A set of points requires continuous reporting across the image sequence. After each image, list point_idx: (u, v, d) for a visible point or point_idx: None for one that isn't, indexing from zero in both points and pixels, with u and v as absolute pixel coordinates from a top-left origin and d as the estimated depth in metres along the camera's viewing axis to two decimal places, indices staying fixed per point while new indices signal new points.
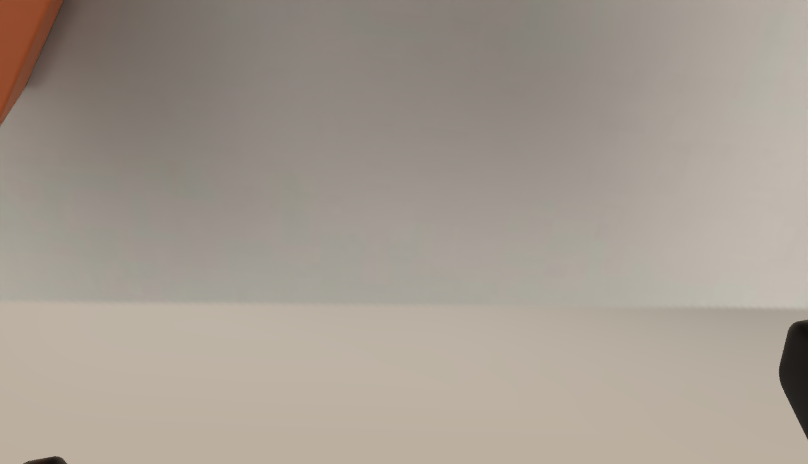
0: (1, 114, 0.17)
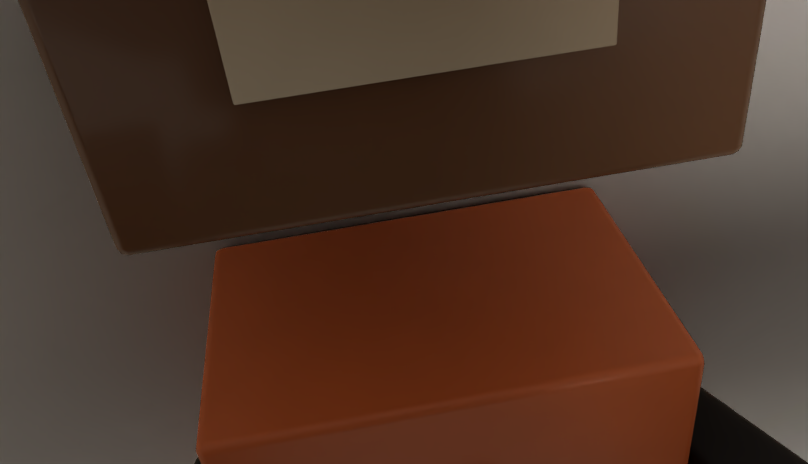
0: None
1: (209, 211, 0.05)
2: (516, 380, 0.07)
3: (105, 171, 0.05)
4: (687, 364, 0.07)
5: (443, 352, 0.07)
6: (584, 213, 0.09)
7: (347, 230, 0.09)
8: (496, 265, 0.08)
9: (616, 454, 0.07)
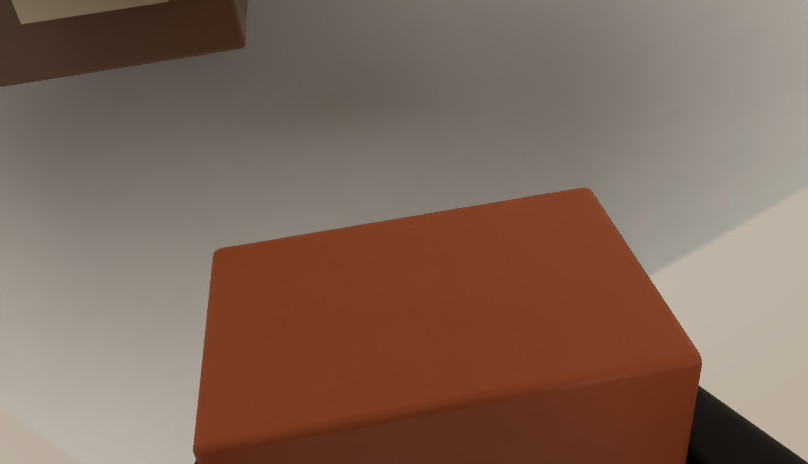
0: None
1: (19, 69, 0.13)
2: (513, 380, 0.07)
3: None
4: (684, 364, 0.07)
5: (439, 352, 0.07)
6: (582, 213, 0.09)
7: (345, 230, 0.09)
8: (495, 265, 0.08)
9: (614, 454, 0.07)
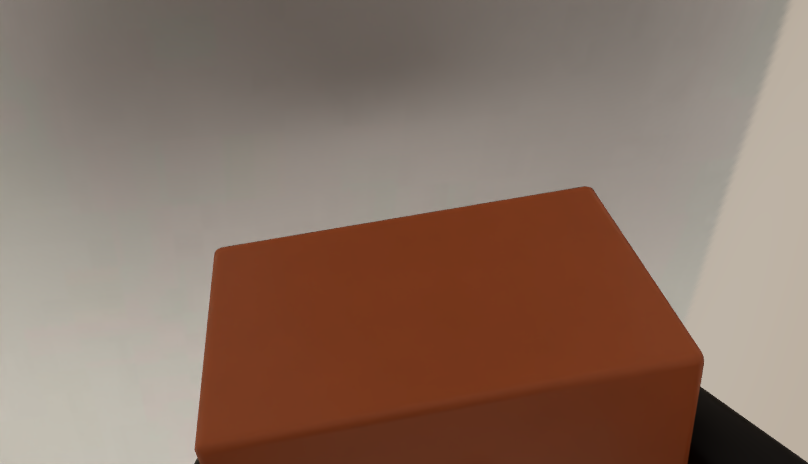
0: None
1: None
2: (515, 379, 0.07)
3: None
4: (687, 363, 0.07)
5: (442, 352, 0.07)
6: (583, 212, 0.09)
7: (346, 229, 0.09)
8: (496, 264, 0.08)
9: (615, 453, 0.07)
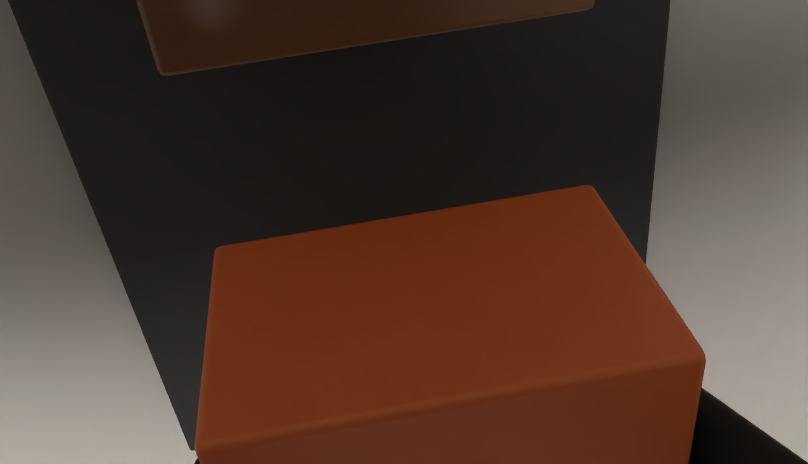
0: None
1: None
2: (515, 377, 0.07)
3: None
4: (688, 362, 0.07)
5: (443, 350, 0.07)
6: (584, 210, 0.09)
7: (346, 228, 0.09)
8: (496, 263, 0.08)
9: (616, 452, 0.07)
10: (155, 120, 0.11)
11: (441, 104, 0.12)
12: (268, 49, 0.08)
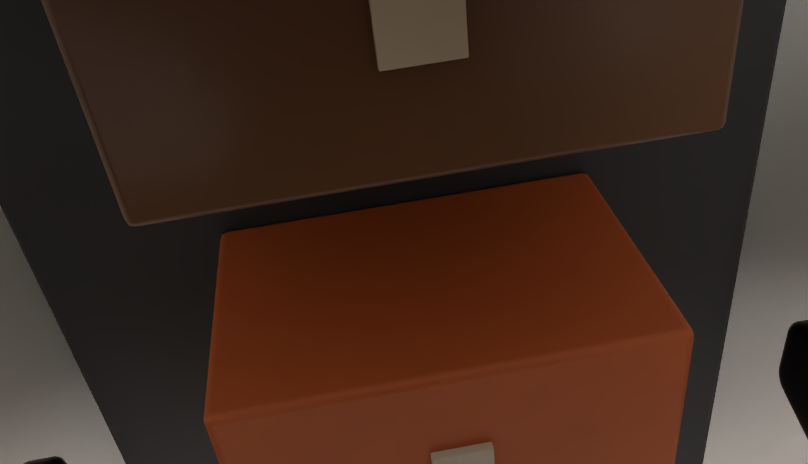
0: None
1: None
2: (511, 353, 0.07)
3: None
4: (677, 339, 0.07)
5: (441, 328, 0.07)
6: (579, 197, 0.09)
7: (349, 214, 0.09)
8: (494, 246, 0.08)
9: (609, 427, 0.08)
10: None
11: None
12: (278, 190, 0.06)
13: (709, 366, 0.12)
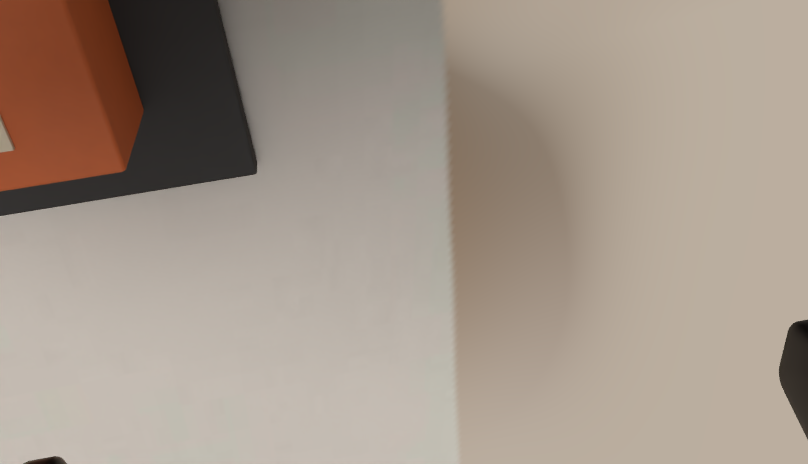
0: (114, 137, 0.16)
1: None
2: None
3: None
4: None
5: None
6: None
7: None
8: None
9: (26, 21, 0.14)
10: None
11: None
12: None
13: (223, 74, 0.18)
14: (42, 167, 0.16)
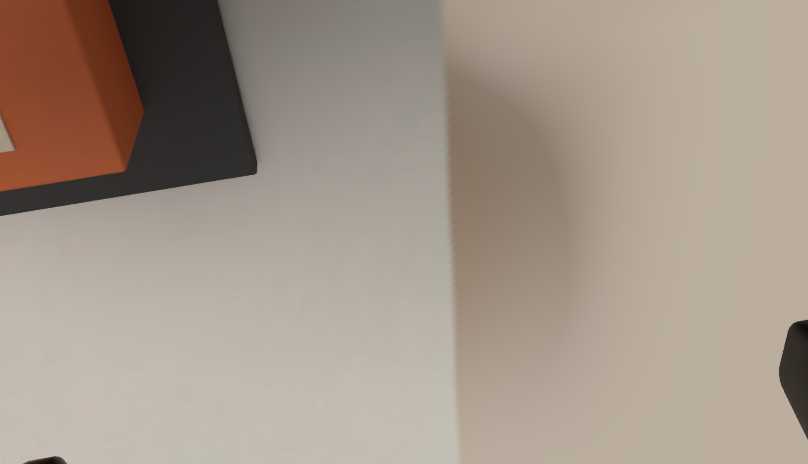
0: (114, 137, 0.16)
1: None
2: None
3: None
4: None
5: None
6: None
7: None
8: None
9: (27, 21, 0.14)
10: None
11: None
12: None
13: (223, 74, 0.19)
14: (43, 167, 0.16)
